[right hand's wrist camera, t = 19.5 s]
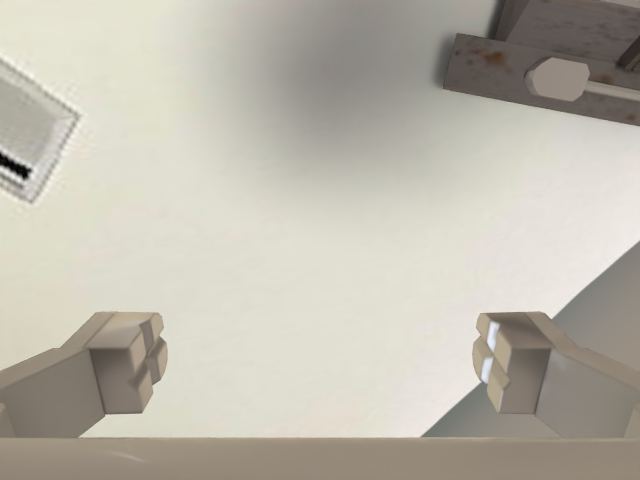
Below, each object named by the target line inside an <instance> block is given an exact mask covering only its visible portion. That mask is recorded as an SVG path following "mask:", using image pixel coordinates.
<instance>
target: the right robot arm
mask: <svg viewBox="0 0 640 480" xmlns="http://www.w3.org/2000/svg"><path fill="white" fill-rule="evenodd" d="M163 328H164V326H163V321H162V316H161V315H160V314H159V313H152V312H97V313H95V314H94V315H93V316H92V317H91V318H90V319H89V320H88V321H87V322H86V323H85V324H84V325H83V326H82V327H81V328H80V329H79V330H78V331H77V332H76V333H75V334H73V335H72V336H71V337H70V338H69V339H68V340H67V341H66V342H65V343H64V344H63V345H62V346H61V347H60V348H52V349H50V350H48V351H45V352H43V353H41V354H39V355H36V356H34V357H32V358H29V359H27V360H25V361H22V362H20V363H18V364H16V365H13V366H11V367H9V368H6V369H4V370H2V371H0V480H640V371H638V370H636V369H633V368H631V367H629V366H627V365H624V364H622V363H620V362H617V361H615V360H613V359H611V358H608V357H606V356H604V355H601V354H599V353H597V352H595V351H592V350H590V349H588V348H580V347H579V346H578V345H577V344H576V343H575V342H574V341H573V340H572V339H571V338H570V337H569V336H568V335H567V334H566V333H565V332H563V331H562V330H561V329H560V328H559V327H558V326H557V325H556V324H555V323H554V322H553V321H552V320H551V319H550V318H549V317H548V316H547V315H546V314H545V313H543V312H540V311H538V312H505V313H480V315H479V317H478V320H477V326H476V328H477V330H478V331H479V333H480V335H481V336H480V337H479V338H478V339H477V340H476V341H475V342H474V345H473V353H472V356H473V365H474V369H475V372H476V374H477V376H478V378H479V380H480V381H482V382H483V383H485V384H487V385H488V388H487V394H488V396H489V398H490V400H491V402H492V403H493V405H494V407H495V409H496V410H497V412H498V413H502V414H535V417H537V418H538V419H539V420H541V421H542V422H543V423H544V424H546V425H547V426H548V427H550V428H551V429H552V430H553V431H555V432H556V433H557V434H559V435H560V436H561V437H562V438H78V437H79V436H80V435H82V434H83V433H84V432H85V431H87V430H88V429H89V428H91V427H92V426H93V425H94V424H96V423H97V422H98V421H100V420H101V419H102V418H103V417H105V414H137V413H142V412H143V411H144V409H145V407H146V405H147V403H148V402H149V400H150V398H151V396H152V394H153V388H152V385H154V384H155V383H157V382H158V381H160V380H161V378H162V376H163V374H164V372H165V368H166V364H167V344H166V342H165V341H164V340H163V339H162V338H161V337H160V336H159V335H160V333H161V331H162V330H163Z"/></svg>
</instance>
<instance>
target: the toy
mask: <svg viewBox="0 0 640 480" xmlns="http://www.w3.org/2000/svg"><path fill="white" fill-rule="evenodd" d="M443 89H446V90H451V91H456V92H462V93H467V94H472V95H477V96H483V97H488V98H493V99H499V100H504V101H509V102H514V103H520V104H525V105H530V106H535V107H541V108H546V109H551V110H557V111H562V112H567V113H572V114H578V115H583V116H588V117H594V118H599V119H604V120H609V121H615V122H620V123H625V124H631V125H636V126H640V0H506V1H505V4H504V8H503V11H502V14H501V18H500V21H499V25H498V28H497V31H496V35H495V38H494V40H492V39H487V38H482V37H477V36H471V35H465V34H458V33H457V36H456V39H455V43H454V47H453V51H452V54H451V58H450V62H449V65H448V69H447V73H446V77H445V80H444V84H443Z"/></svg>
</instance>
